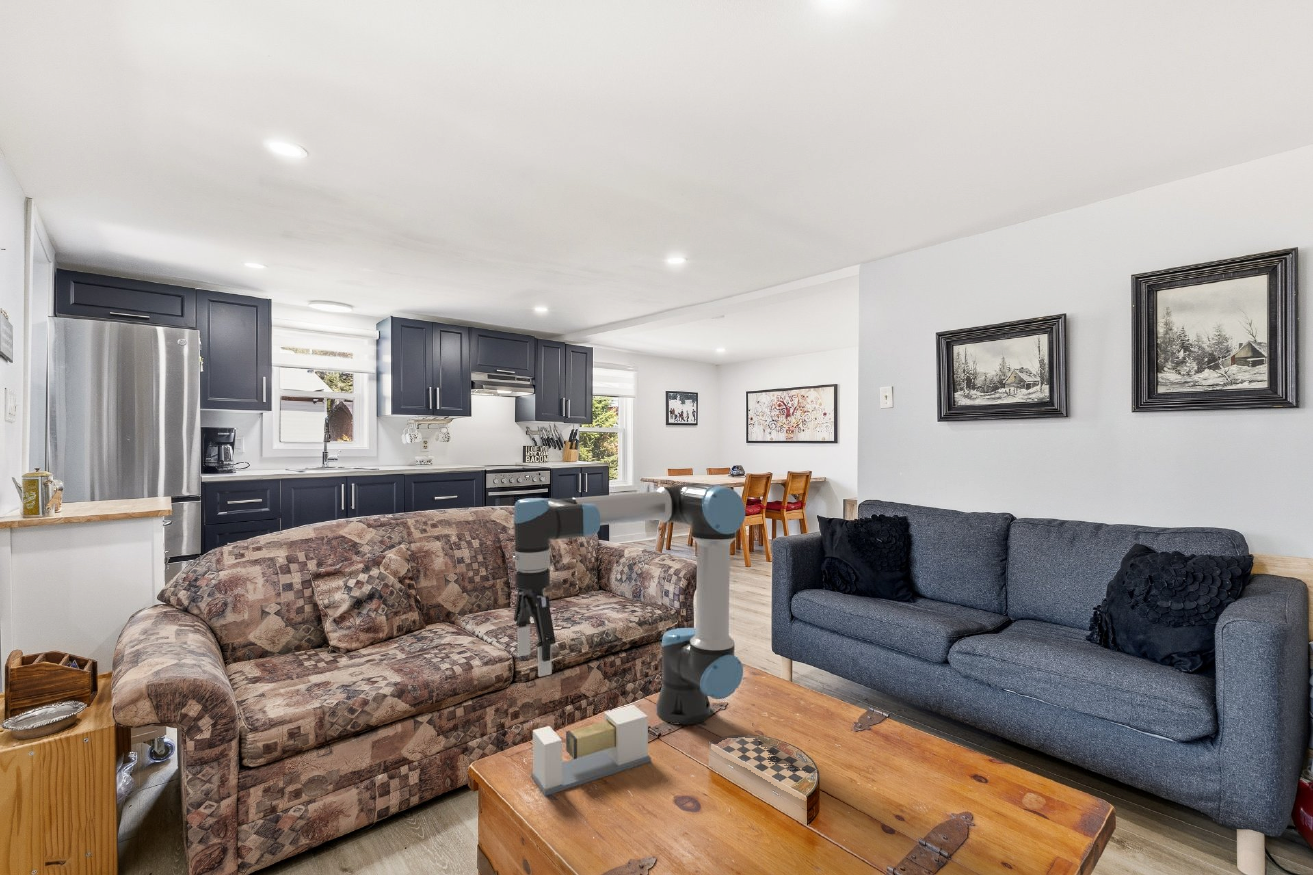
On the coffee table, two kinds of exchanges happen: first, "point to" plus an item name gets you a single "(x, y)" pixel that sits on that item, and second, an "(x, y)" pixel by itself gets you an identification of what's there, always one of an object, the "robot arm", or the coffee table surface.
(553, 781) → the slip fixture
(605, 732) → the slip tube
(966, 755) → the coffee table surface
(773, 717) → the coffee table surface
